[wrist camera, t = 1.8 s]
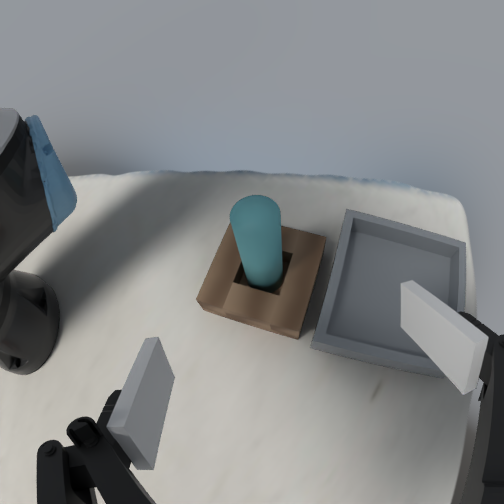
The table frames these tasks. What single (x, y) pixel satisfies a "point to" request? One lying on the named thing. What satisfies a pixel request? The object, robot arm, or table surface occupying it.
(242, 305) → the hole block
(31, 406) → the table surface
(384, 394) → the table surface
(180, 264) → the table surface
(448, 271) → the tray
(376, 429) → the table surface
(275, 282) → the ball
